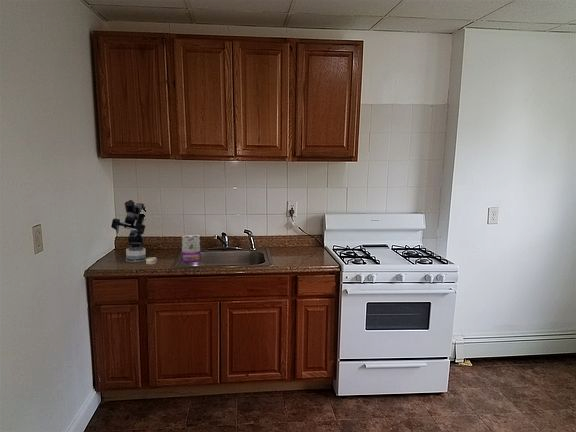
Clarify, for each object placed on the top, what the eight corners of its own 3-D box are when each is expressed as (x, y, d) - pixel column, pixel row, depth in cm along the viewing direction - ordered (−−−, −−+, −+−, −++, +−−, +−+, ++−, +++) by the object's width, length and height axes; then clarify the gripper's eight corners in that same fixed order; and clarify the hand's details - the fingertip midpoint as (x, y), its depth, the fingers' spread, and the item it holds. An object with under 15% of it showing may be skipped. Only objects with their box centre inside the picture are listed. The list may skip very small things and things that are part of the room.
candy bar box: (200, 260, 237) (200, 234, 235) (200, 262, 233) (200, 236, 231) (181, 260, 234) (181, 235, 232) (181, 262, 230) (181, 236, 227)
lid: (148, 261, 230) (148, 257, 230) (158, 262, 230) (158, 257, 229) (144, 264, 224) (144, 259, 224) (154, 264, 224) (153, 259, 224)
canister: (131, 257, 239) (131, 246, 238) (149, 258, 238) (149, 247, 237) (121, 262, 227) (121, 250, 226) (141, 263, 226) (140, 251, 226)
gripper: (117, 205, 227) (110, 220, 215) (148, 212, 234) (144, 228, 221) (114, 219, 233) (108, 235, 221) (145, 226, 239) (141, 242, 227)
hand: (125, 234), depth 222 cm, fingers open, 9 cm apart
